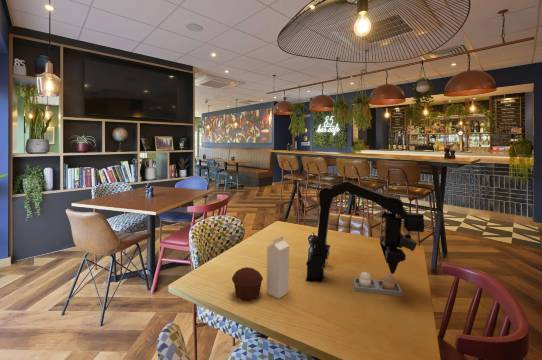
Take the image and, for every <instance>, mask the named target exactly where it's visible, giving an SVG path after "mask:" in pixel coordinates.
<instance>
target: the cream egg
mask: <svg viewBox="0 0 542 360" xmlns="http://www.w3.org/2000/svg"><path fill="white" fill-rule="evenodd" d="M358 278H359V287H368V288H371V279H372V276H371V273H369V272H367V271H363V272H361V273H360V274H359V277H358Z"/></svg>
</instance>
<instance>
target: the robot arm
mask: <svg viewBox="0 0 542 360" xmlns="http://www.w3.org/2000/svg"><path fill="white" fill-rule="evenodd" d="M347 192H348V193H350V194H353V195H355V196H358V197H360V198H362V199H365V200H368V201H370V202H372V203H375V204H377V205H378V206H380V207H381V208H382V209H384V211H383V212H382V213H380V218H383V219H384V229H383V235H381V236H380V237H379V244H380V247H381V251H382V254H383V257H384V259H385V261H386V264H387V265H388V269H389V272H390V275H394V274H395V272H396V270H397V267H398V266H399V263H401V262H404V261H406V256H407V255H406V253H405V252H404V251H403V248H405V249H408V250H410V251H411V252H415V250H416V248H417V245H418V243H417V241H415V240H414V238H412V235H411V234H409V233H405V234H403V233H401V232H402V228H403V229H405V231H406V232H414V233H424V232H425V220H424V218H425V217H424V216H425V215H424V214H423V213H409V212H408V211H407V209H405V208H404V203H403V201H402V199H401V198H400V197H399V196H397V195H394V194H389V193H381V192H378V191H376V190H373V189H370V188H367V187H365V186H363V185H360V184H357V183H355V182H353V181H351V180H344V181H343V182H340V183H336V184H334V185H325V186H323V187H322V188H321V189H320V191H319V192H318V202H319V209H320V211H319V217H318V228H317V235H316V243H315V245H314V248H313V252H312V253H311V254H310V255H309V257H308V259H307V260H306V263H305V264H306V278H305V281H307V282H315V283H316V282H317V283H319V282H320V283H322V282H323V280H324V273H325V268H324V267H323V264H325V263H326V261H327V260H329V256H330V249H331V248H330V247H331V244H328V241H327V240H328V239H327V238H328V233H329V231H328V230H329V223H330V216H331V214H330V213H331V209H332V205H333V202H334V199H335V198H336V197H338V196H341V195H343V194H345V193H347Z"/></svg>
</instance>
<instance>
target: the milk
mask: <svg viewBox="0 0 542 360" xmlns="http://www.w3.org/2000/svg"><path fill="white" fill-rule="evenodd" d="M272 242H273V243H272V244H269V245H267V246H266V248H267V249H266V252H267V253H266V293H267V295H270V296H272V297H274V298H277V299H281V298H282V297H284V296H285V295H287V294H288V293H289V287H290V286H289V283H290V281H289V279H290V272H289V271H290V245H289V244H288V243H287V242H286V240H284V235H282V236H280V237H278V238H277V237H276V238H275V239H273V240H272Z"/></svg>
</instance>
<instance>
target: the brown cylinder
mask: <svg viewBox="0 0 542 360" xmlns="http://www.w3.org/2000/svg"><path fill="white" fill-rule="evenodd" d="M382 281H383V285H382V289H386V290H394V288H395V282H396V279H395V277H394V275H393V274H391V273H386V274H385V275H384V276H383V278H382Z"/></svg>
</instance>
